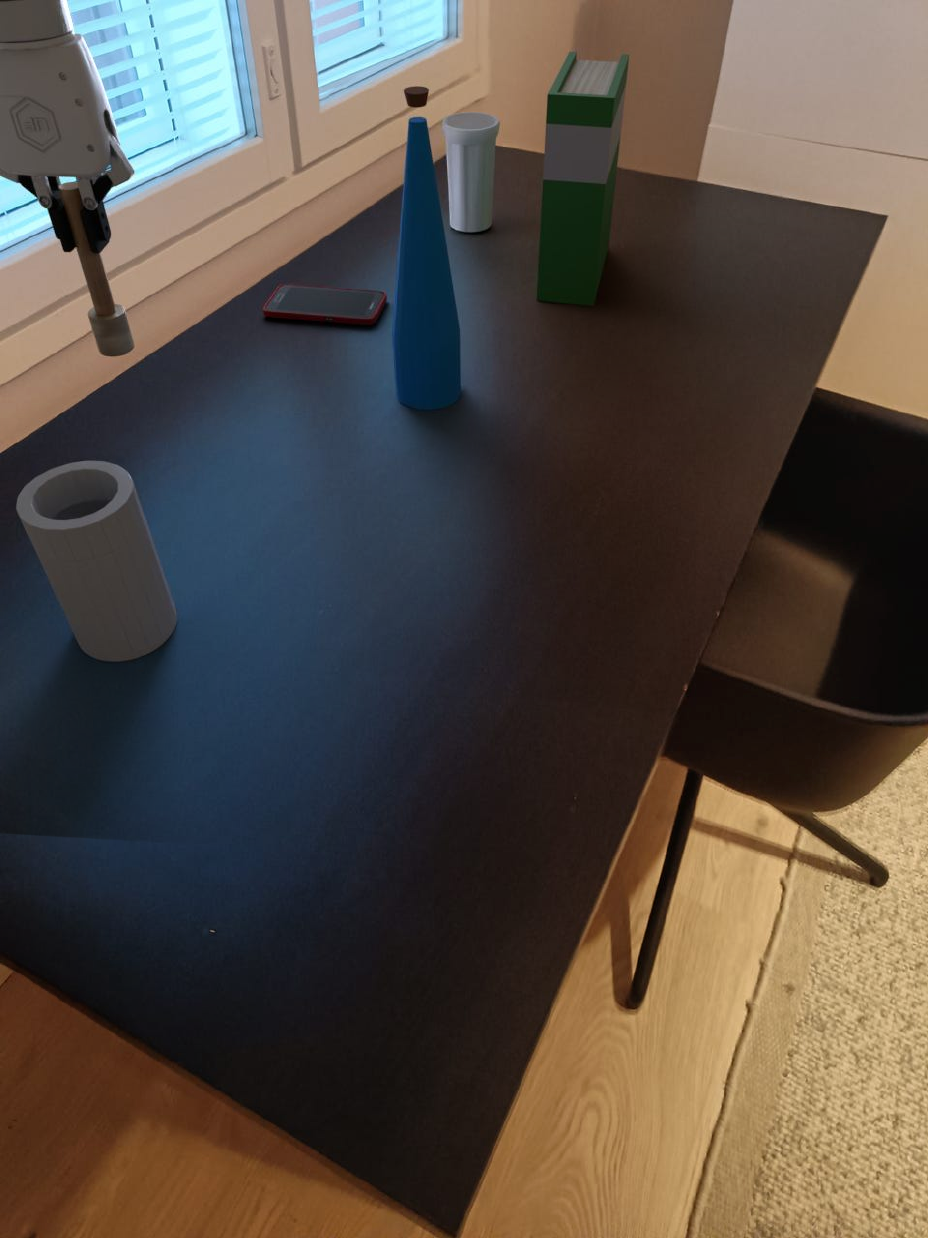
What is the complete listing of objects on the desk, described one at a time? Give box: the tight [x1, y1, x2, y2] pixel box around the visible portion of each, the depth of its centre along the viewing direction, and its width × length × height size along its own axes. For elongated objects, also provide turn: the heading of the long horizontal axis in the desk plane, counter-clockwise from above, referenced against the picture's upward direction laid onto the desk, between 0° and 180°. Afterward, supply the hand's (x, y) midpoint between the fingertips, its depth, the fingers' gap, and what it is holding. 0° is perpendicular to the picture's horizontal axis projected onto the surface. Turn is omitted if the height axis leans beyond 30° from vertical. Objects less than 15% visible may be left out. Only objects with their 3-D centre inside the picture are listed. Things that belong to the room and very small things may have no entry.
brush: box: [58, 181, 136, 358], centre depth 87 cm, size 4×4×16 cm
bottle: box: [391, 85, 462, 411], centre depth 90 cm, size 7×7×30 cm
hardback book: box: [536, 51, 630, 307], centre depth 113 cm, size 18×7×24 cm, turn 167°
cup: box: [440, 111, 501, 233], centre depth 128 cm, size 8×8×14 cm
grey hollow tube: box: [15, 460, 178, 663], centre depth 71 cm, size 8×8×14 cm
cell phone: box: [262, 283, 388, 326], centre depth 115 cm, size 8×15×1 cm, turn 80°
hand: (87, 245), depth 85 cm, fingers closed on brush, 2 cm apart
